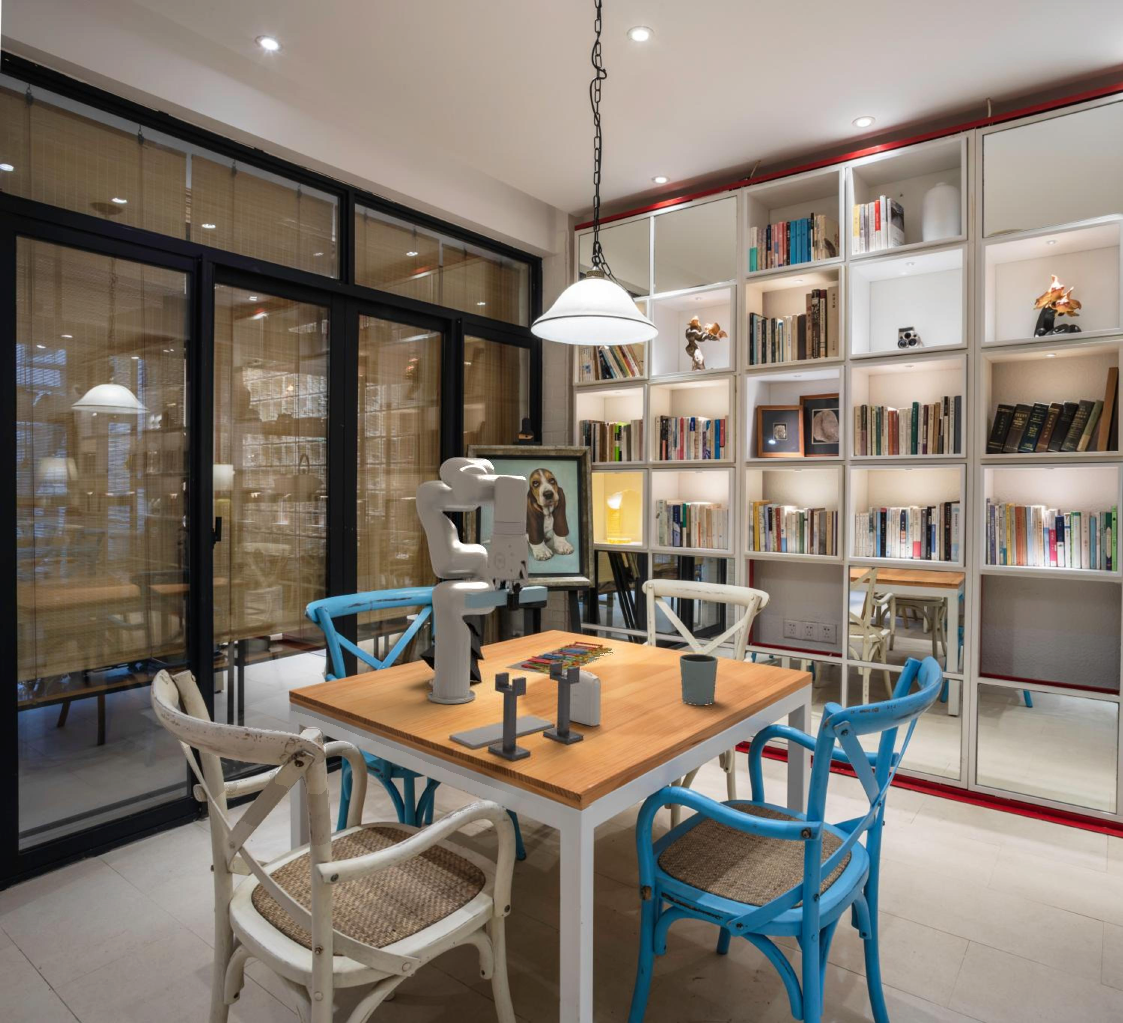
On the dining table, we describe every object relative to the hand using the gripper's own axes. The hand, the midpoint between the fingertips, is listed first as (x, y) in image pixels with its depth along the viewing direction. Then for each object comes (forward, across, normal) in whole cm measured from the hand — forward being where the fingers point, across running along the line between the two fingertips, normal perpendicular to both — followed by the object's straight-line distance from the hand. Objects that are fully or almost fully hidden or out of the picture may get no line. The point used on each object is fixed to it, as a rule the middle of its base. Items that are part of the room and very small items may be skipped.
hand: (507, 608), depth 170 cm
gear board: (+31, -47, +67) cm, 87 cm away
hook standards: (+29, +12, 0) cm, 31 cm away
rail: (-1, 0, 0) cm, 1 cm away
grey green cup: (+29, +14, +57) cm, 65 cm away
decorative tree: (+30, -46, +22) cm, 59 cm away
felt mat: (+29, 0, 0) cm, 29 cm away
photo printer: (+29, +6, +20) cm, 35 cm away
